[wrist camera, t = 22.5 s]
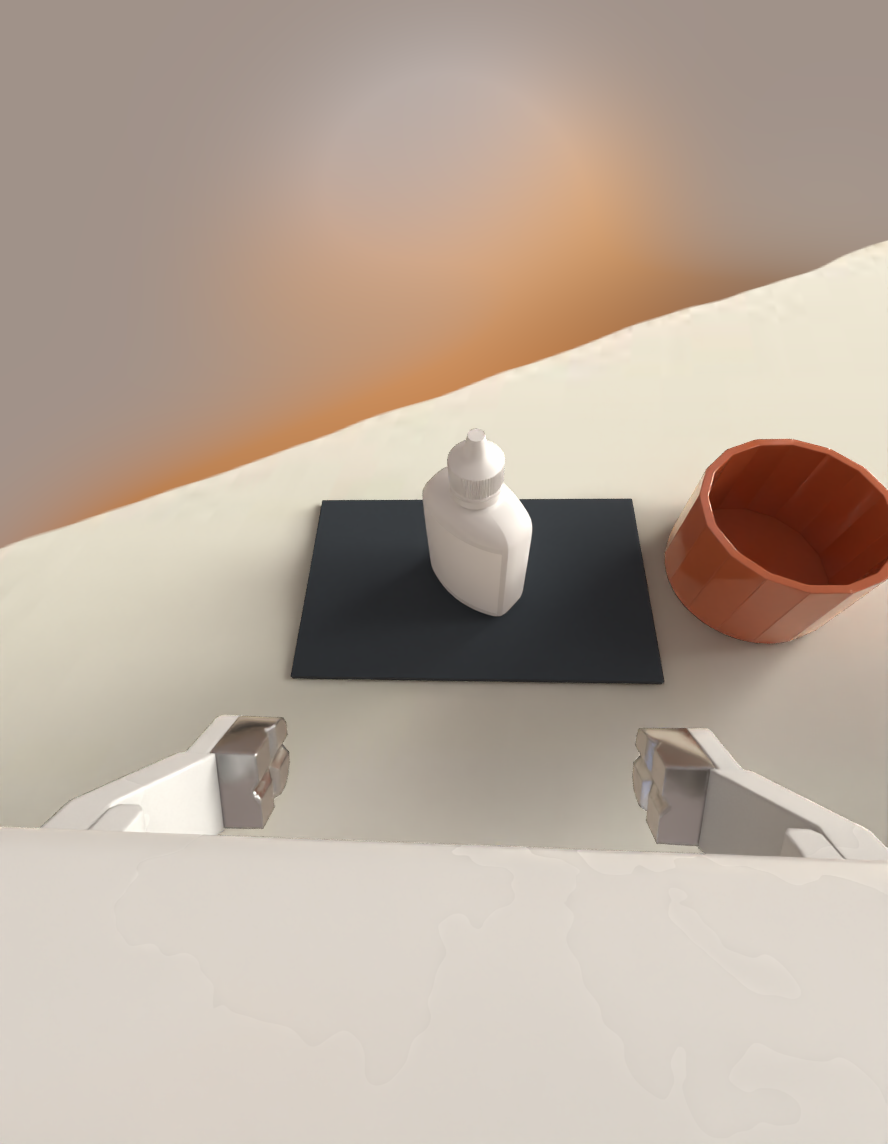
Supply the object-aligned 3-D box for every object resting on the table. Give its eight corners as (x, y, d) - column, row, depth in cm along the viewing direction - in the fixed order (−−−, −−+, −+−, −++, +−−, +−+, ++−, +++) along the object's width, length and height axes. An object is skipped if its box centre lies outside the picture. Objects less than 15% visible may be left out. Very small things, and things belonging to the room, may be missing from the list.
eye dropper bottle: (456, 634, 30) (447, 504, 19) (426, 554, 32) (403, 402, 22) (529, 609, 30) (557, 470, 20) (492, 533, 33) (500, 375, 23)
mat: (292, 678, 29) (290, 676, 29) (323, 503, 35) (322, 500, 35) (662, 684, 28) (664, 681, 28) (630, 502, 34) (631, 498, 34)
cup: (680, 643, 29) (724, 593, 24) (652, 506, 34) (685, 439, 29) (856, 644, 29) (940, 594, 24) (804, 505, 33) (865, 437, 28)
